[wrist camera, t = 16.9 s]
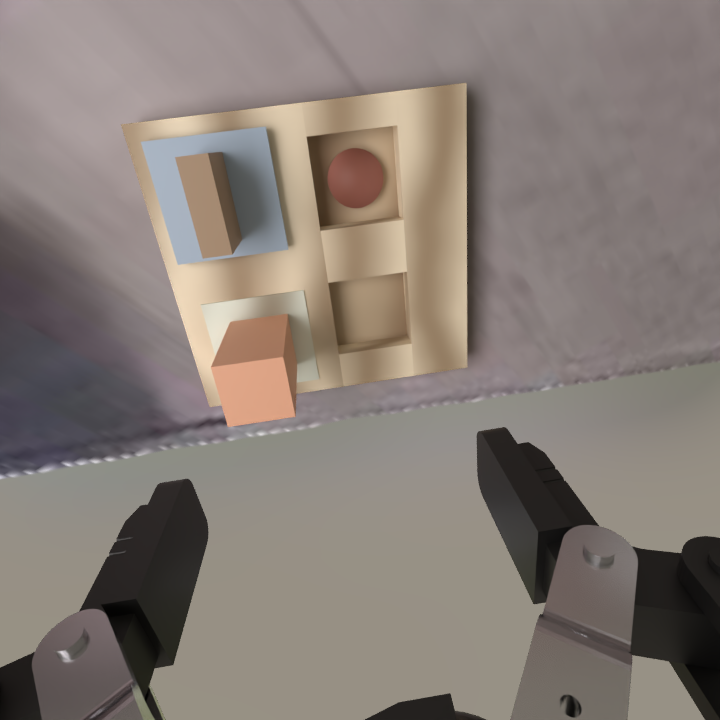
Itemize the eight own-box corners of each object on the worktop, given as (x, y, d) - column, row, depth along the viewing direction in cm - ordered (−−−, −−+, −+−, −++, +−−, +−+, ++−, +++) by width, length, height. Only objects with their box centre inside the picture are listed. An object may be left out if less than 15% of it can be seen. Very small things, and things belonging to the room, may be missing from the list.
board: (456, 86, 28) (467, 82, 26) (459, 356, 36) (467, 367, 34) (133, 126, 27) (120, 124, 25) (214, 393, 35) (209, 407, 33)
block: (287, 313, 31) (282, 356, 24) (297, 364, 32) (295, 416, 26) (230, 321, 30) (210, 367, 24) (243, 372, 32) (228, 426, 26)
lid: (266, 126, 25) (258, 123, 21) (288, 247, 29) (285, 265, 24) (143, 141, 25) (111, 141, 21) (179, 262, 28) (157, 283, 24)
